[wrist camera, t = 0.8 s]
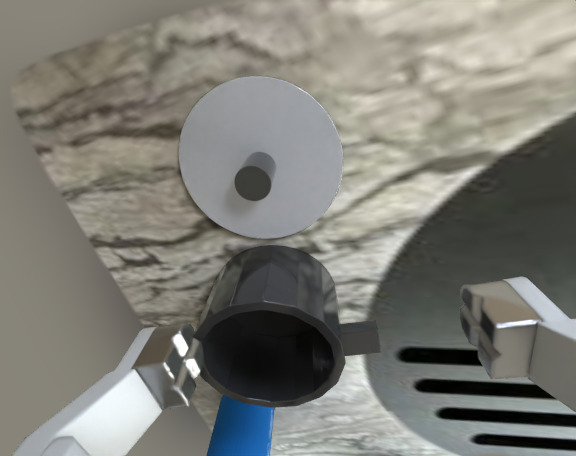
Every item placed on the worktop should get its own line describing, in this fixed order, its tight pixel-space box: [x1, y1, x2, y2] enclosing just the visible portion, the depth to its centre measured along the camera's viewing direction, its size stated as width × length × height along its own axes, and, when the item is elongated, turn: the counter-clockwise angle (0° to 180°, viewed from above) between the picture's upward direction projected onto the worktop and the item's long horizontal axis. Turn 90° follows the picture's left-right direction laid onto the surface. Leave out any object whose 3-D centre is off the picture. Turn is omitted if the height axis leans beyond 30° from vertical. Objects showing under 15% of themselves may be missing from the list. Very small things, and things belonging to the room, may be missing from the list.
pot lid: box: [179, 76, 343, 239], centre depth 22 cm, size 12×12×5 cm
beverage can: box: [207, 395, 274, 456], centre depth 32 cm, size 6×6×12 cm
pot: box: [193, 245, 380, 408], centre depth 27 cm, size 12×17×7 cm
